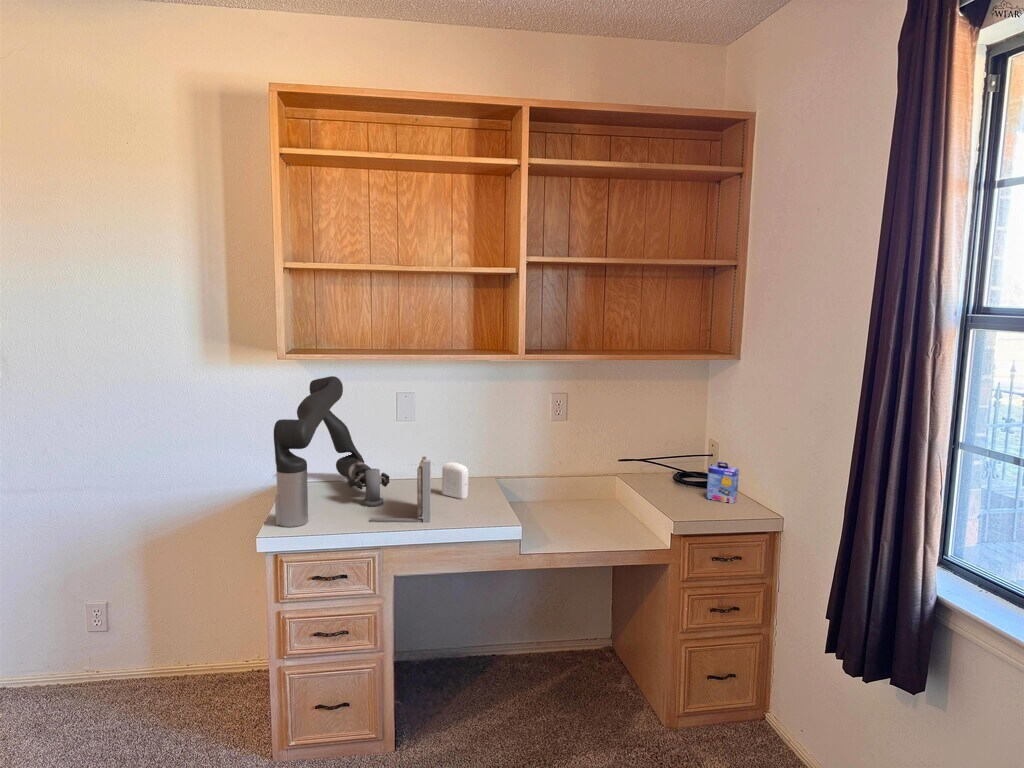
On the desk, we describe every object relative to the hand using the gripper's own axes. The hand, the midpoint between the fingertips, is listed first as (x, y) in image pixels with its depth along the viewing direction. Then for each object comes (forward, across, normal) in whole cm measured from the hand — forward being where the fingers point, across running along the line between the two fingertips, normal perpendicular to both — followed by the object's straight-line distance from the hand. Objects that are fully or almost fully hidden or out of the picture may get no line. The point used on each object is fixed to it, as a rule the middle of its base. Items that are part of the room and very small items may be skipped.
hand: (373, 485), depth 241 cm
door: (+16, +13, +5) cm, 21 cm away
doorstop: (-1, 0, +7) cm, 7 cm away
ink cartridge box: (+45, +116, +7) cm, 125 cm away
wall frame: (+20, +3, +7) cm, 21 cm away
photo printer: (+2, +30, +7) cm, 31 cm away
